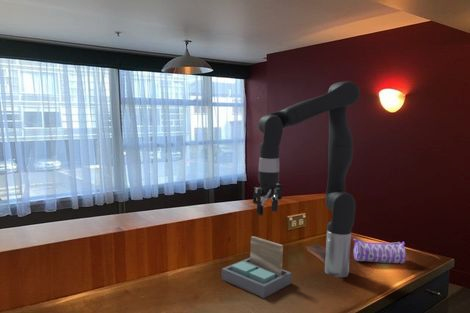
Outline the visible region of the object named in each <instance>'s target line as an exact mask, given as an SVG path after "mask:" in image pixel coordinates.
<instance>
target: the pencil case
mask: <svg viewBox="0 0 470 313" xmlns="http://www.w3.org/2000/svg"><path fill="white" fill-rule="evenodd" d="M353 241H354V245H353V257H354V260H355V261H357V262H370V263H384V264H385V263H386V264H399V263H400V264H405V262H406V260H407V253H406V252H407V251H406V247H405V245H406V244H405V241H402V242H400V241H398V242H379V243H378V242H367V241H363V240H360V239H356V238H353Z"/></svg>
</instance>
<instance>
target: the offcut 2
mask: <svg viewBox="0 0 470 313" xmlns="http://www.w3.org/2000/svg"><path fill="white" fill-rule="evenodd" d="M249 278H250V279H252V280H255V281H257V282H260V283H262V284H265V283H267V282H269V281H271V280H273V279H275V274H274V273H272V272H269V271H266V270H264V269H261V268H259V269H256V270H254V271H252V272H250V273H249Z"/></svg>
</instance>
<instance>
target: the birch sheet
mask: <svg viewBox="0 0 470 313" xmlns="http://www.w3.org/2000/svg"><path fill="white" fill-rule="evenodd" d="M249 251H250V256H249V258H250V263H252V264H254V265H257V266H260V267H262V268H265V269H268V270H270V271H273V272H276V273H278V274H281V275H282V269H283V256H284V255H283V253H284V252H283V251H284V245H283V244H281V243H276V242H274V241H270V240H267V239H264V238H261V237H257V236H254V235H253V236H250V250H249Z"/></svg>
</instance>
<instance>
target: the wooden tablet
mask: <svg viewBox="0 0 470 313" xmlns="http://www.w3.org/2000/svg"><path fill="white" fill-rule="evenodd" d="M312 245H313V244H312ZM312 245H308V246H309V247H307V246H306V247H307V249H306V250H307V251H308V252H309V253H311V254H312V255H313V256H315V257H316V258H317V259H318V260H320V261H321V262H322V263H323V264H324V265H325V257H326V247H324V246H323V245H320V244H314V245H313V246H312Z"/></svg>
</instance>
